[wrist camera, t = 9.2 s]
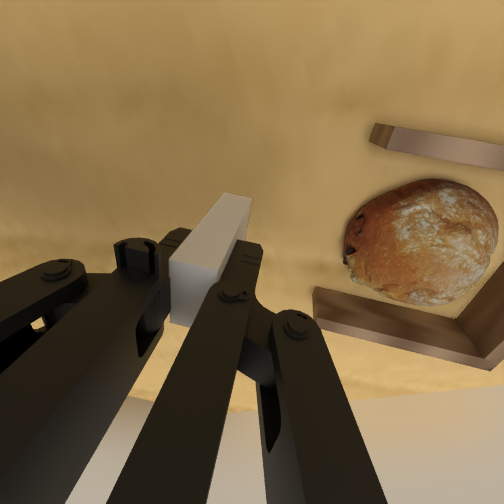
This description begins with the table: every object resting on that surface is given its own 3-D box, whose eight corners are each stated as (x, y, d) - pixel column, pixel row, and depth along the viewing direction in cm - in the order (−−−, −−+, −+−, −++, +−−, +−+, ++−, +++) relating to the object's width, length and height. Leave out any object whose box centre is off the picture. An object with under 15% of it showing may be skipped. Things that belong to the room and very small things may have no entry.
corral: (312, 295, 26) (313, 327, 22) (375, 122, 18) (395, 126, 14) (461, 331, 25) (490, 371, 21) (607, 164, 16) (699, 180, 13)
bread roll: (426, 258, 26) (519, 302, 19) (338, 294, 25) (400, 354, 17) (431, 162, 21) (554, 169, 14) (324, 200, 20) (399, 229, 13)
